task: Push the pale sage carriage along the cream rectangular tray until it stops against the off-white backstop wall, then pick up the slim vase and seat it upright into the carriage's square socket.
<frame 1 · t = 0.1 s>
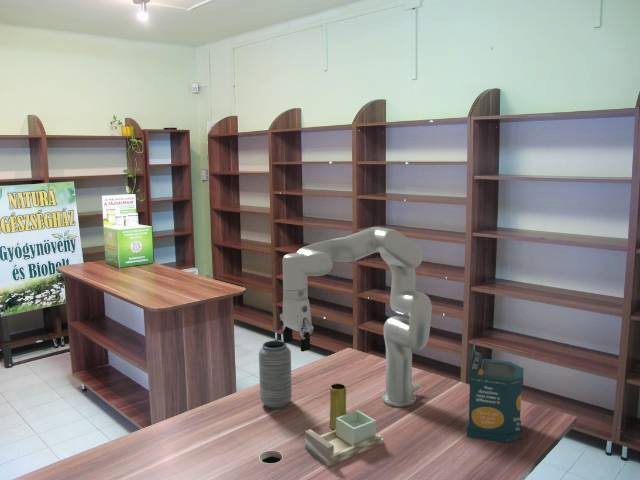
hand: (296, 346, 170), 31 cm above the table, fingers open, 9 cm apart
vase 2: (276, 404, 199), on the table
cream rectangular tray: (344, 445, 170), on the table
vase: (338, 426, 182), on the table
donation box: (494, 429, 179), on the table
carriage: (355, 428, 172), point 5 cm above the table, slide at 0.0 cm
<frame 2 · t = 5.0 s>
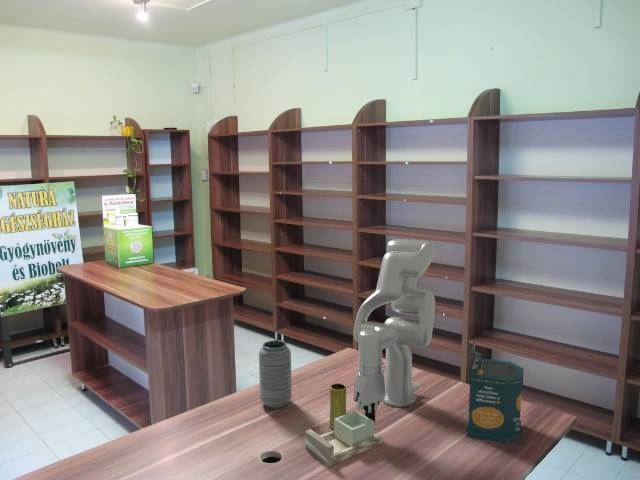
hand: (370, 421, 175), 5 cm above the table, fingers closed
carriage: (354, 428, 172), point 5 cm above the table, slide at 0.7 cm, touching gripper
everything else where it was.
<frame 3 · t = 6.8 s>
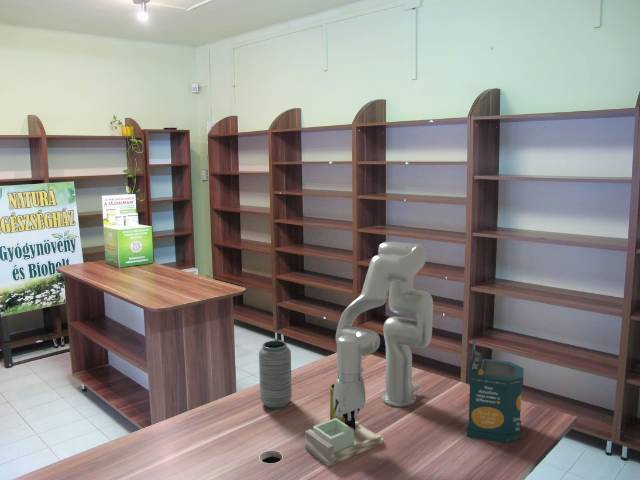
hand: (350, 429, 171), 5 cm above the table, fingers closed
carriage: (333, 437, 167), point 5 cm above the table, slide at 9.0 cm, touching gripper, cream rectangular tray
everything else where it was.
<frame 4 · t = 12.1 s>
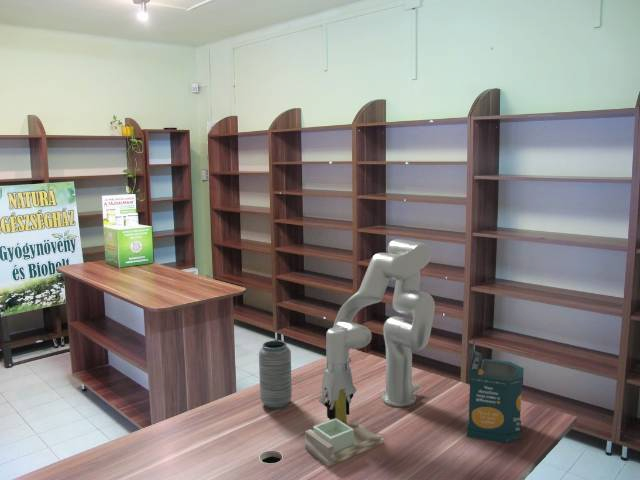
hand: (338, 415, 182), 4 cm above the table, fingers closed on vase, 5 cm apart
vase: (338, 426, 182), on the table, touching gripper
carriage: (333, 437, 167), point 5 cm above the table, slide at 9.0 cm
everything else where it was.
when the fingers open (10 cm above the table, at t = 16.6 s): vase drops 2 cm, resting on carriage.
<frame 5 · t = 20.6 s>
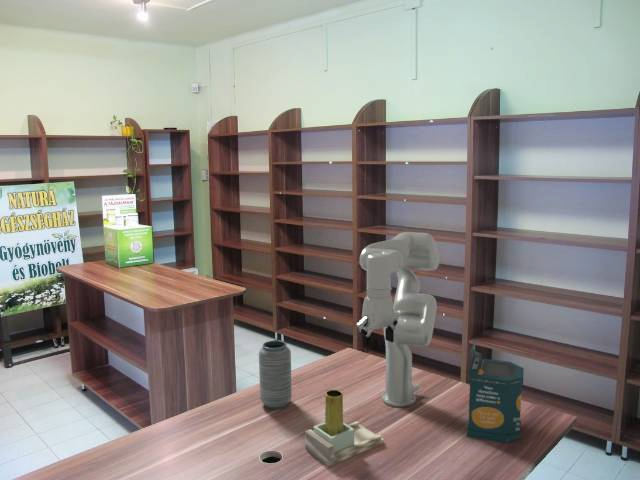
hand: (378, 344, 173), 30 cm above the table, fingers open, 9 cm apart
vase: (334, 437, 167), point 4 cm above the table, touching carriage
carriage: (333, 436, 167), point 5 cm above the table, slide at 8.8 cm, touching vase
everything else where it was.
at the end: carriage slide at 8.8 cm; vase inside the target area (0.6 cm from its centre), point 4.3 cm above the table; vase tilted 0° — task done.
